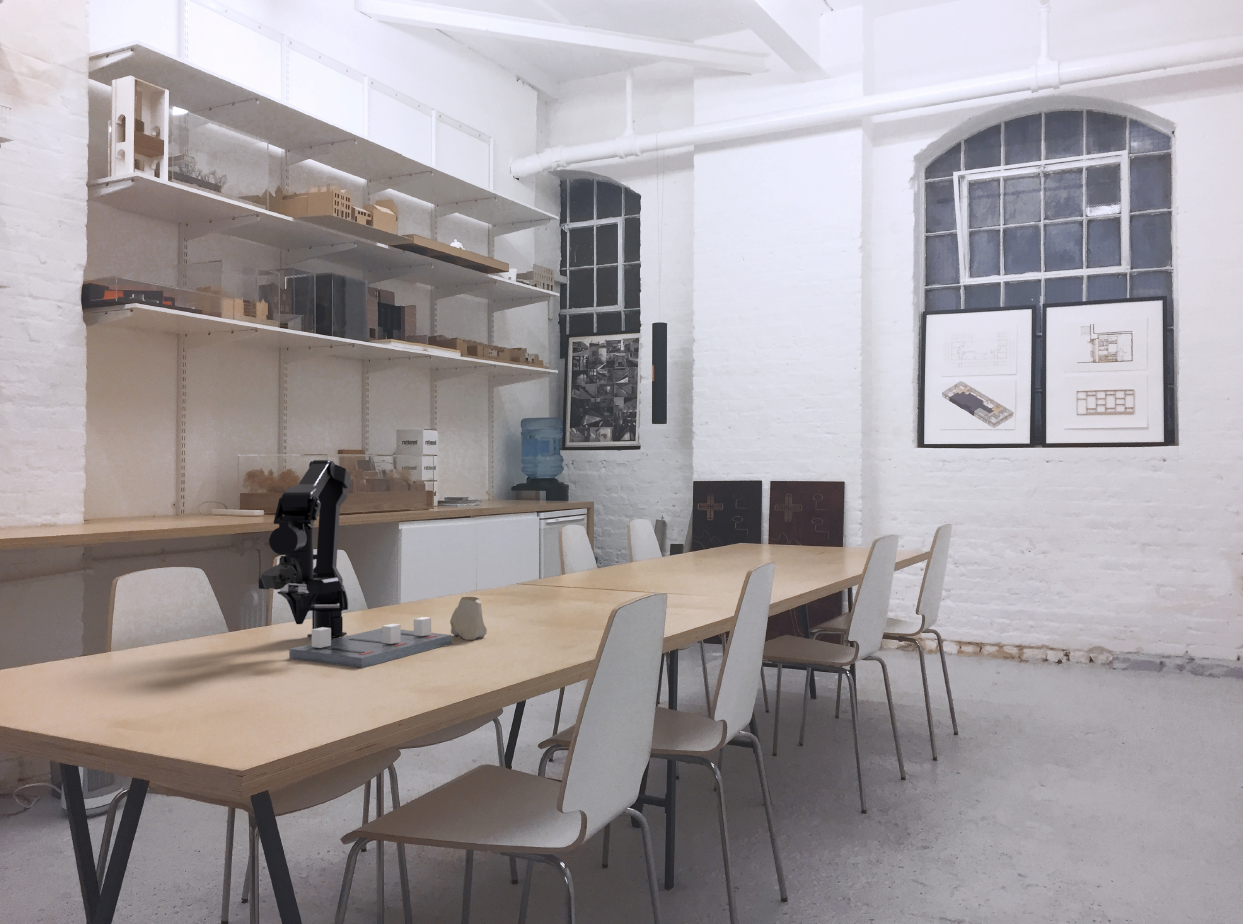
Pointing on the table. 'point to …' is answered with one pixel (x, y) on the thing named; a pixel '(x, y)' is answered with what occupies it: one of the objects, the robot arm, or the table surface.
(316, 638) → the handle
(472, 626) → the faceted grey rock
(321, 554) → the robot arm
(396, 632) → the handle mid
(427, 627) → the handle far
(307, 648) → the panel
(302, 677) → the table surface
